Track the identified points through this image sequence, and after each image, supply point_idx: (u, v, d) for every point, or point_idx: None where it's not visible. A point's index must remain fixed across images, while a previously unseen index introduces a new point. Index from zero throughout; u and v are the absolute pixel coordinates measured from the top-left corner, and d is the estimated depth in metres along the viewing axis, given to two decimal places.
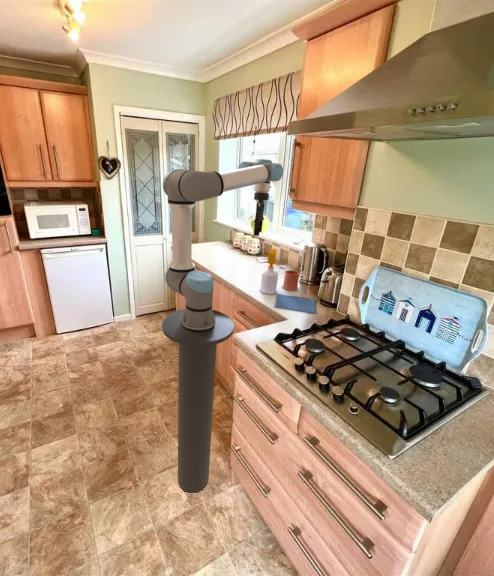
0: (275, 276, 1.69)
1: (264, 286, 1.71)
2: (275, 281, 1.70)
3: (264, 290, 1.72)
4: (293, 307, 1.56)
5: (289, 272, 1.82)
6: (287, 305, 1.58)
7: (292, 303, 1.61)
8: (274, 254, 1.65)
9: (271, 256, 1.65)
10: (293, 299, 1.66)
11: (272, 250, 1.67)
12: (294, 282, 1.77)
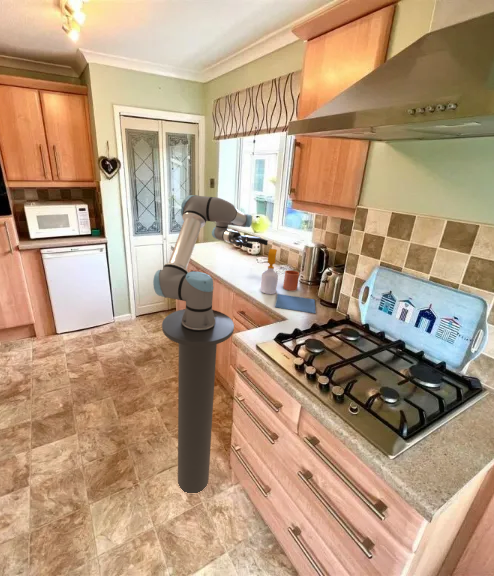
0: (275, 276, 1.69)
1: (264, 286, 1.71)
2: (275, 281, 1.70)
3: (264, 290, 1.72)
4: (293, 307, 1.56)
5: (289, 272, 1.82)
6: (287, 305, 1.58)
7: (292, 303, 1.61)
8: (274, 254, 1.65)
9: (271, 256, 1.65)
10: (293, 299, 1.66)
11: (272, 250, 1.67)
12: (294, 282, 1.77)
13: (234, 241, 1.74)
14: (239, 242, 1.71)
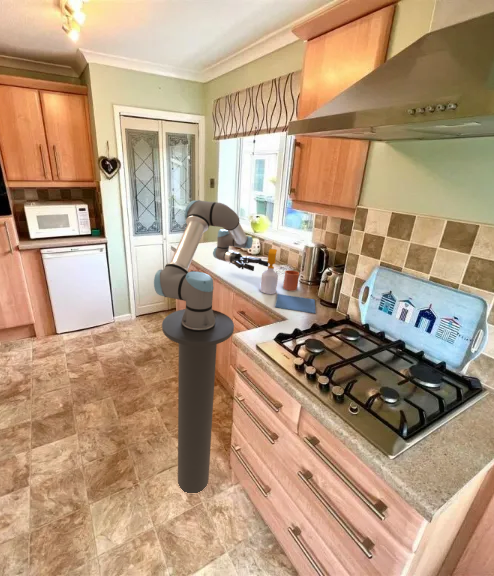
0: (275, 276, 1.69)
1: (264, 286, 1.71)
2: (275, 281, 1.70)
3: (264, 290, 1.72)
4: (293, 307, 1.56)
5: (289, 272, 1.82)
6: (287, 305, 1.58)
7: (292, 303, 1.61)
8: (274, 254, 1.65)
9: (271, 256, 1.65)
10: (293, 299, 1.66)
11: (272, 250, 1.67)
12: (294, 282, 1.77)
13: (236, 263, 1.77)
14: (241, 264, 1.74)
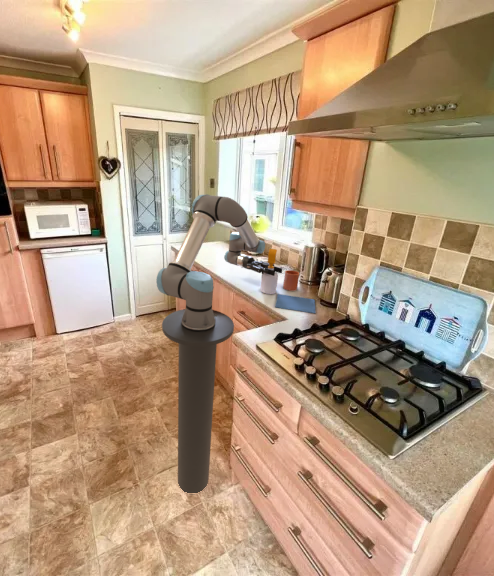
0: (275, 276, 1.69)
1: (264, 286, 1.71)
2: (275, 281, 1.70)
3: (264, 290, 1.72)
4: (293, 307, 1.56)
5: (289, 272, 1.82)
6: (287, 305, 1.58)
7: (292, 303, 1.61)
8: (274, 254, 1.65)
9: (271, 256, 1.65)
10: (293, 299, 1.66)
11: (272, 250, 1.67)
12: (294, 282, 1.77)
13: (253, 268, 1.71)
14: None
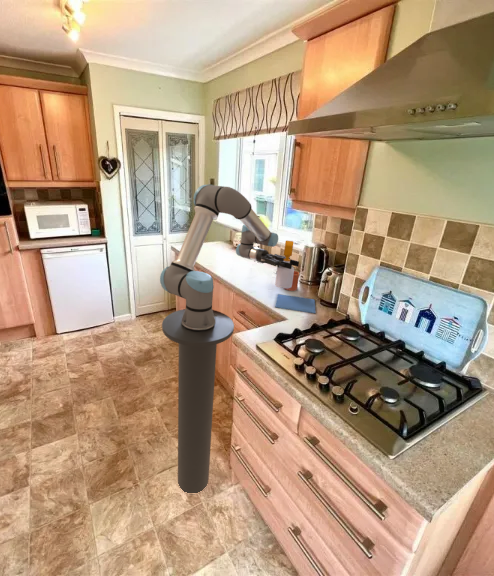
0: (291, 269, 1.59)
1: (280, 280, 1.61)
2: (291, 275, 1.60)
3: (280, 284, 1.62)
4: (293, 307, 1.56)
5: None
6: (287, 305, 1.58)
7: (292, 303, 1.61)
8: (291, 246, 1.55)
9: (288, 248, 1.56)
10: (293, 299, 1.66)
11: (288, 241, 1.58)
12: (294, 282, 1.77)
13: (268, 261, 1.61)
14: None
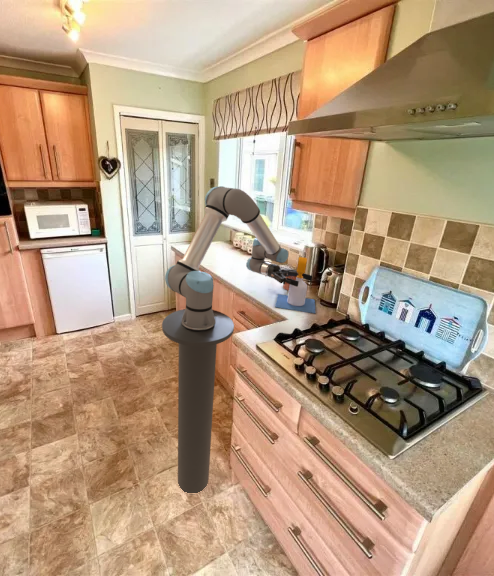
0: (305, 287, 1.55)
1: (292, 298, 1.57)
2: (304, 292, 1.56)
3: (292, 302, 1.57)
4: (293, 307, 1.56)
5: None
6: (287, 305, 1.58)
7: None
8: (304, 263, 1.50)
9: (301, 265, 1.51)
10: None
11: (301, 258, 1.53)
12: None
13: (276, 277, 1.57)
14: (282, 279, 1.53)
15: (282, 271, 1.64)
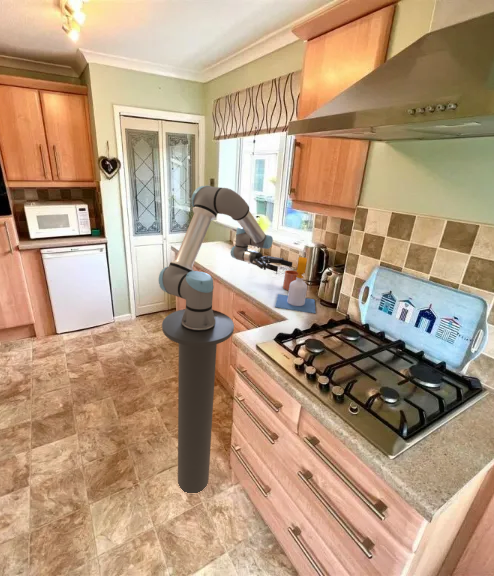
0: (305, 287, 1.55)
1: (292, 298, 1.57)
2: (304, 292, 1.56)
3: (292, 302, 1.57)
4: (293, 307, 1.56)
5: (289, 272, 1.82)
6: (287, 305, 1.58)
7: None
8: (304, 263, 1.50)
9: (301, 265, 1.51)
10: None
11: (301, 258, 1.53)
12: None
13: (257, 263, 1.63)
14: (263, 264, 1.60)
15: (264, 258, 1.70)
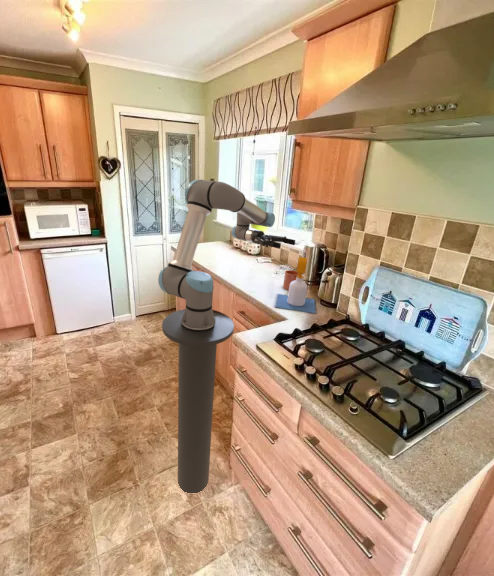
0: (305, 287, 1.55)
1: (292, 298, 1.57)
2: (304, 292, 1.56)
3: (292, 302, 1.57)
4: (293, 307, 1.56)
5: (289, 272, 1.82)
6: (287, 305, 1.58)
7: None
8: (304, 263, 1.50)
9: (301, 265, 1.51)
10: None
11: (301, 258, 1.53)
12: None
13: (259, 241, 1.59)
14: None
15: (266, 236, 1.66)
